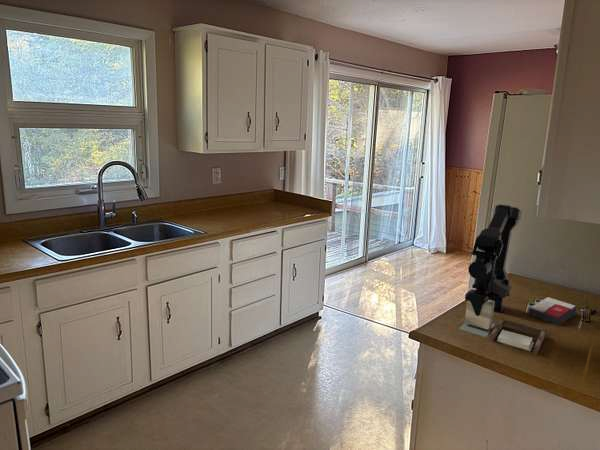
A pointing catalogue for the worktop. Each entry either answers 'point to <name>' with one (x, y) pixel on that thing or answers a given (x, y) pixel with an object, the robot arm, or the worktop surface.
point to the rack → (522, 328)
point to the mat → (476, 329)
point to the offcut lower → (520, 347)
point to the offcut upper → (515, 339)
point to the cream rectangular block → (485, 315)
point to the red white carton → (553, 311)
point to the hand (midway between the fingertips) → (479, 313)
